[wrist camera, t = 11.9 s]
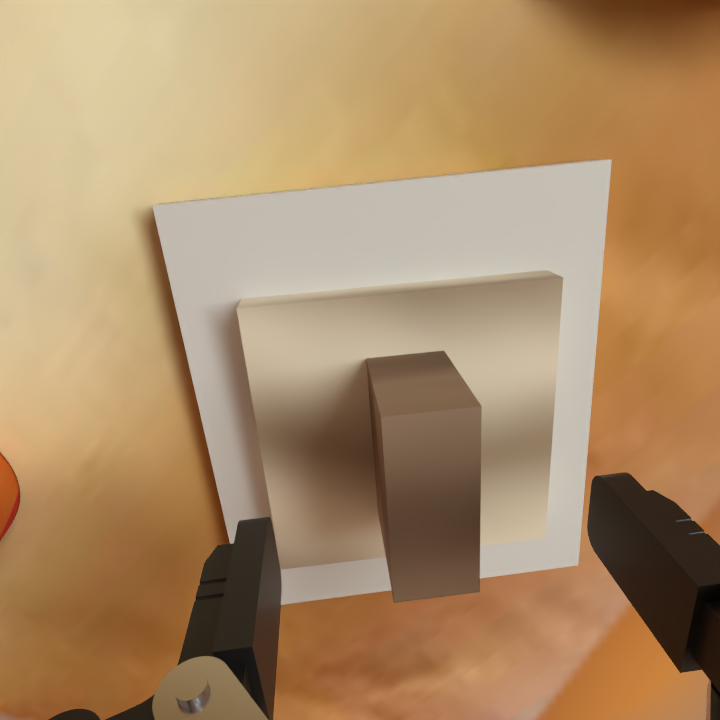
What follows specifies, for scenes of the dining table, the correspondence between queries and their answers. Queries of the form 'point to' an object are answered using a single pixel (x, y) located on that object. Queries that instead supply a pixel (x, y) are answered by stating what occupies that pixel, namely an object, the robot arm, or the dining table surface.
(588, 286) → the rubber mat
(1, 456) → the paper cup
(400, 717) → the dining table surface
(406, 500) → the cup cover
